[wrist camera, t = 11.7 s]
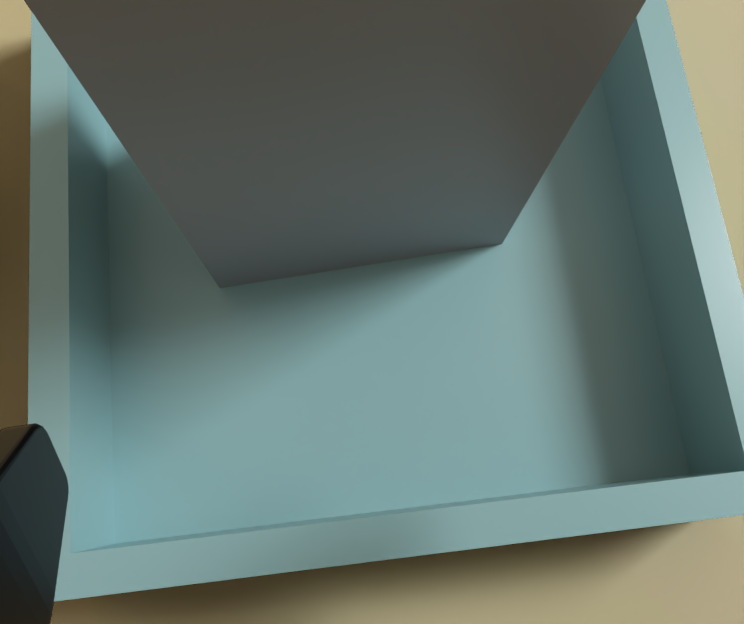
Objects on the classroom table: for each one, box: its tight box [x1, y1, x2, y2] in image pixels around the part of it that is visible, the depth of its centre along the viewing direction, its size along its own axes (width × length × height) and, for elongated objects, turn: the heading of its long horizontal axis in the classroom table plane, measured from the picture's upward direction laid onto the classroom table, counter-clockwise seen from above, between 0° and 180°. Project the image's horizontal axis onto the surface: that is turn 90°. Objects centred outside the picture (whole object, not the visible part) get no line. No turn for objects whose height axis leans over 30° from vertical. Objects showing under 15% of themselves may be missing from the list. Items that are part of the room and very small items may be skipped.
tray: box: [28, 0, 744, 602], centre depth 16 cm, size 15×15×3 cm
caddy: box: [24, 0, 646, 288], centre depth 12 cm, size 5×7×12 cm
